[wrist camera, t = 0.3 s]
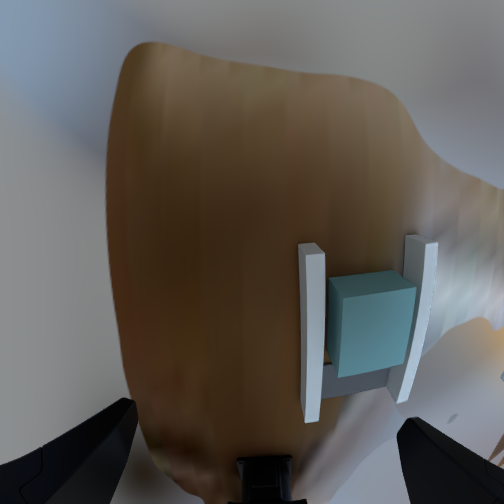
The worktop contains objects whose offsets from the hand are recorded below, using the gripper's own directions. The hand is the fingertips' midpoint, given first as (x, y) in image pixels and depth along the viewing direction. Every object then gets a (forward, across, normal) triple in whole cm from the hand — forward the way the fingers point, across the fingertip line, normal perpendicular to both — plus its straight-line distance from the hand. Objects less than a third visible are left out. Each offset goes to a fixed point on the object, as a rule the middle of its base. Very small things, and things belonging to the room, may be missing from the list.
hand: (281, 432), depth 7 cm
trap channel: (+14, -8, +3) cm, 16 cm away
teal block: (+14, -8, +1) cm, 16 cm away
